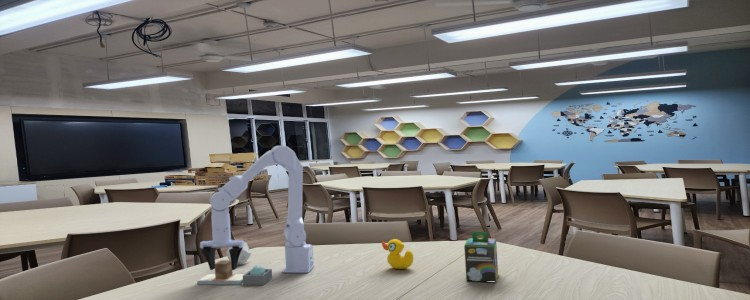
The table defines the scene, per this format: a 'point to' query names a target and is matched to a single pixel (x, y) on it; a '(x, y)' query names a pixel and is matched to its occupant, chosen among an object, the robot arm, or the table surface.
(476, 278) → the chalk box
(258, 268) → the dome
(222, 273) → the brown wooden block
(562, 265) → the table surface
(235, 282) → the game board
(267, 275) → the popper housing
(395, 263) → the duckling
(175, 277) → the table surface
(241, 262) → the die
